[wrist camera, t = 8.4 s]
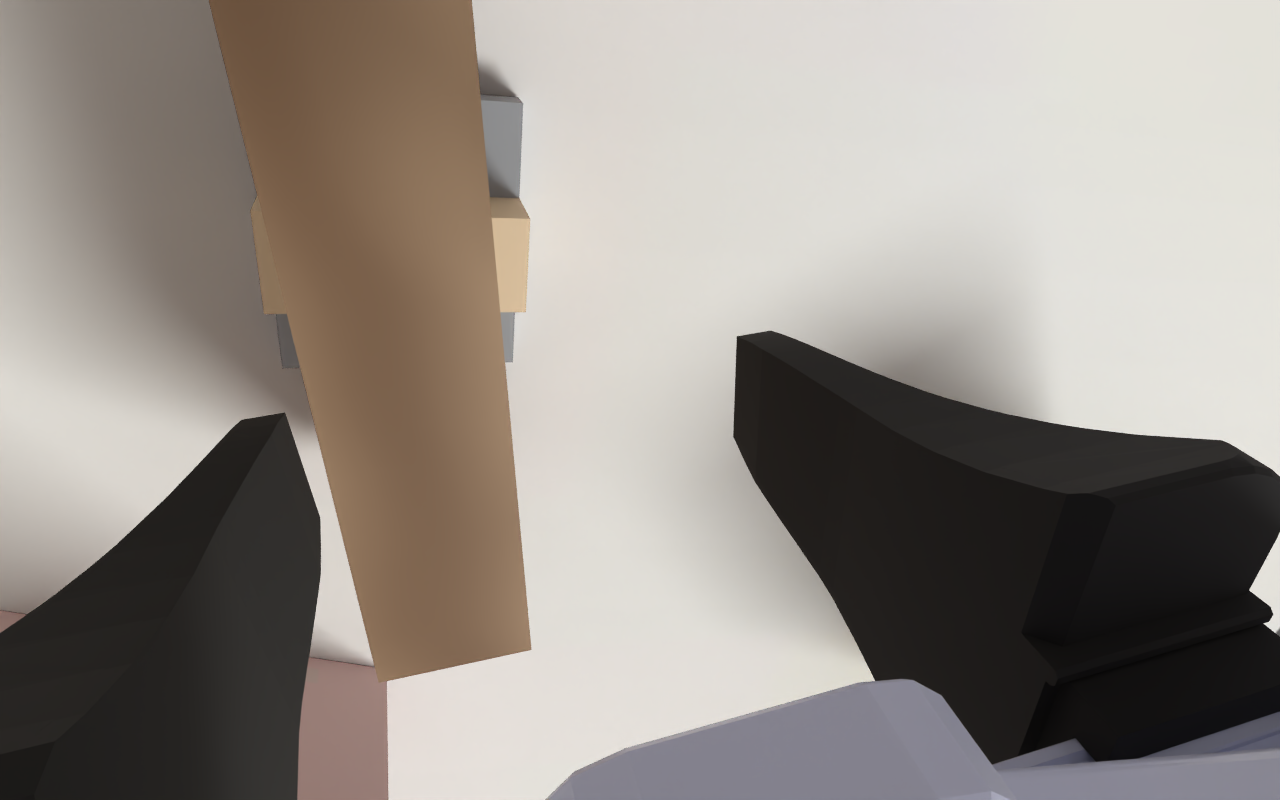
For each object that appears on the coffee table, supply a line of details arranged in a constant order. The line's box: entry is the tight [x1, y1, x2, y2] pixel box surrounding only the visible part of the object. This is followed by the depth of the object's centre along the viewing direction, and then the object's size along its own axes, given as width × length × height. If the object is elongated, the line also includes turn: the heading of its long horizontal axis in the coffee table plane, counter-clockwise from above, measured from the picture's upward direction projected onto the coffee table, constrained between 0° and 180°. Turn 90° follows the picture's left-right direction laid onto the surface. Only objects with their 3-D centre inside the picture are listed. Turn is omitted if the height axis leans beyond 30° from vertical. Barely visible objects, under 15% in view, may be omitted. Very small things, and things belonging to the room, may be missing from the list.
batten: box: [209, 0, 531, 683], centre depth 16 cm, size 4×16×5 cm, turn 179°
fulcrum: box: [250, 94, 530, 368], centre depth 19 cm, size 6×7×2 cm
